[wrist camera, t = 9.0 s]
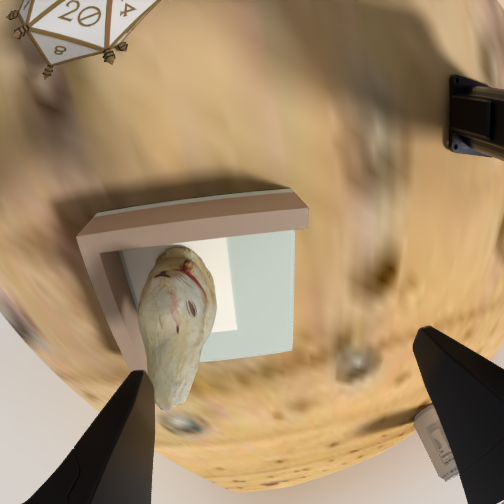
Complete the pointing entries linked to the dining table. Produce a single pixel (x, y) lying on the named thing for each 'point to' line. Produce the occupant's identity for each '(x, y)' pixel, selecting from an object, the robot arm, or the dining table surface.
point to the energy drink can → (435, 442)
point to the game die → (79, 27)
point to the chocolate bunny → (176, 322)
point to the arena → (216, 261)
